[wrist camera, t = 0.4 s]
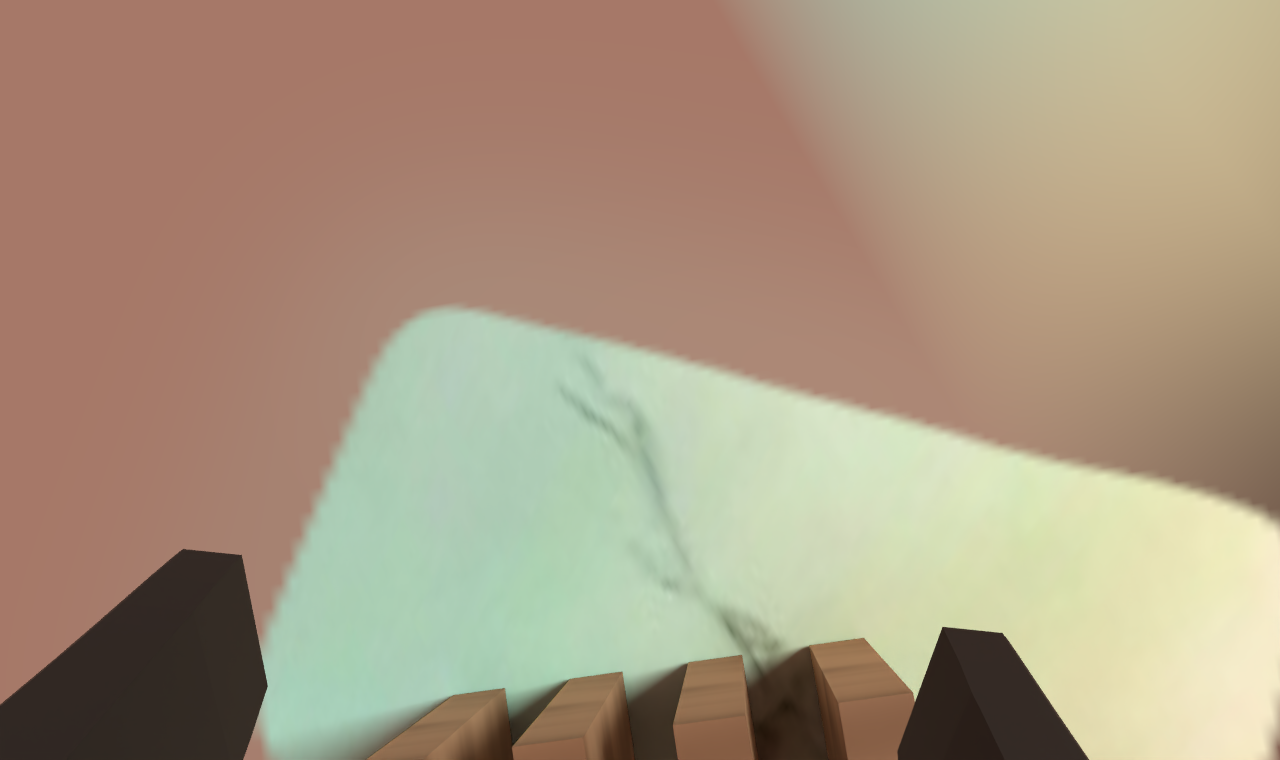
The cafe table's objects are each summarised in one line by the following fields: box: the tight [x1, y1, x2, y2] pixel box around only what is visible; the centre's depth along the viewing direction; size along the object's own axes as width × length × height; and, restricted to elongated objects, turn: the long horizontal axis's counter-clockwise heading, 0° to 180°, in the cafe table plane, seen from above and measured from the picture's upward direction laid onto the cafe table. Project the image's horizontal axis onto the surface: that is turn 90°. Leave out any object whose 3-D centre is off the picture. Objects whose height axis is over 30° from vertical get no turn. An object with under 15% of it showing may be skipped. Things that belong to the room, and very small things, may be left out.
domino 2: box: [810, 638, 915, 760], centre depth 31 cm, size 5×2×10 cm, turn 8°
